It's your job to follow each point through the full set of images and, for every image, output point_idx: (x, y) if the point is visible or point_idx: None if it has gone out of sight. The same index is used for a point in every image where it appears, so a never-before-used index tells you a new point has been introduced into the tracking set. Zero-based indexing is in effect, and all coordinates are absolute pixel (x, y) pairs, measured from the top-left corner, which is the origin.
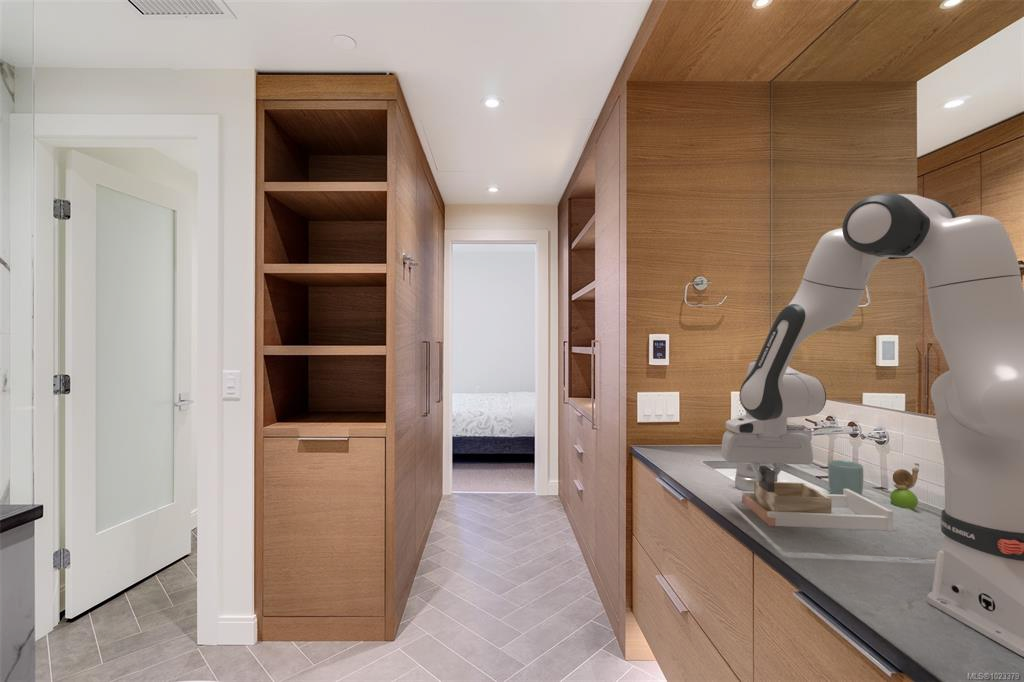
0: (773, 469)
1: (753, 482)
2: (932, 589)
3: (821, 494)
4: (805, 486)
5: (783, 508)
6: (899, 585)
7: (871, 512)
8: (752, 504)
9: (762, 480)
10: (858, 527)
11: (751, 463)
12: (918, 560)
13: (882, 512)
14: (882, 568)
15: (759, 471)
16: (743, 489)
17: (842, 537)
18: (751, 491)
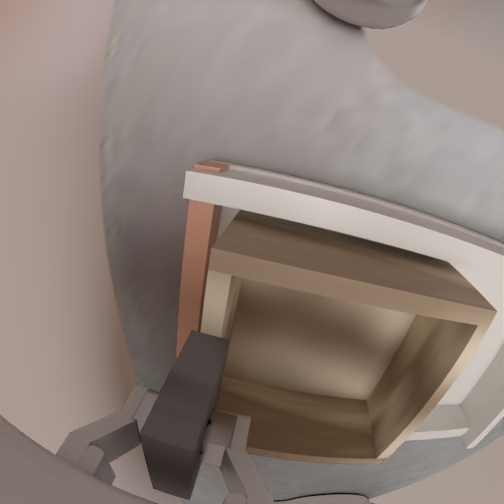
0: (234, 472)
1: (373, 9)
2: (294, 500)
3: (397, 440)
4: (459, 353)
5: None
6: (271, 490)
7: (492, 391)
8: (182, 286)
9: None
10: None
11: (67, 451)
12: (379, 465)
13: (472, 432)
14: (294, 476)
15: (123, 453)
16: (318, 3)
17: None
18: (352, 23)
